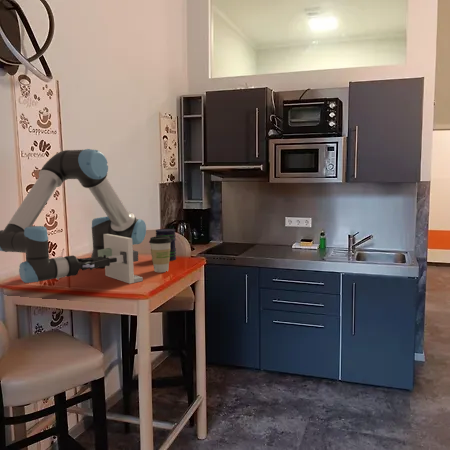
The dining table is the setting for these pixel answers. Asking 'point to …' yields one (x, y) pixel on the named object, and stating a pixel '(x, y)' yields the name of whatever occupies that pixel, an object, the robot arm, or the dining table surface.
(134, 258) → the black button
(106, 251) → the sage button
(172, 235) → the storage jar
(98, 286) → the dining table surface
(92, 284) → the dining table surface
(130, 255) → the button panel
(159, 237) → the coffee cup
